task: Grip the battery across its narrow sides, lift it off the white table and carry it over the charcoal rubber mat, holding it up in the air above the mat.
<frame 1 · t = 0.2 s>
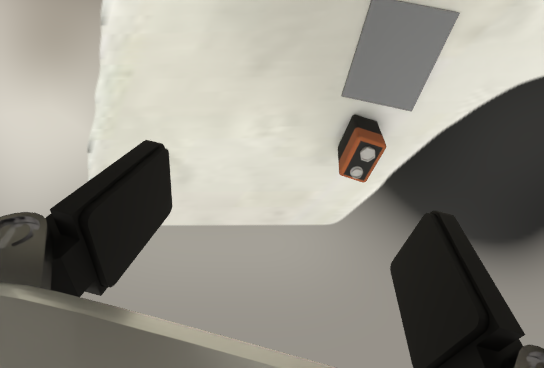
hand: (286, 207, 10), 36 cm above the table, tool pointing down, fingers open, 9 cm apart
mat: (393, 58, 38), on the table
battery: (356, 135, 45), on the table
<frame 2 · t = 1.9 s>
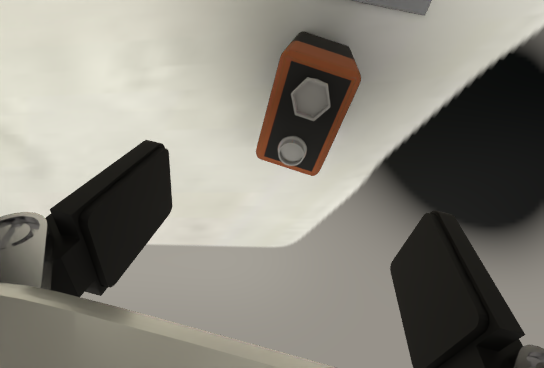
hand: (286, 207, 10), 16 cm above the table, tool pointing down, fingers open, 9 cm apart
battery: (310, 81, 22), on the table
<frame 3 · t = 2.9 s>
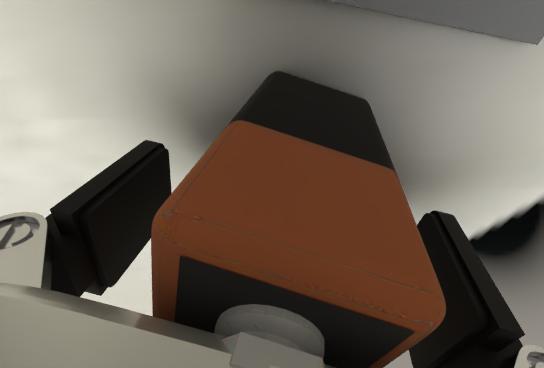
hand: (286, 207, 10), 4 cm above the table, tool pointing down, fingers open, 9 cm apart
battery: (296, 151, 13), on the table
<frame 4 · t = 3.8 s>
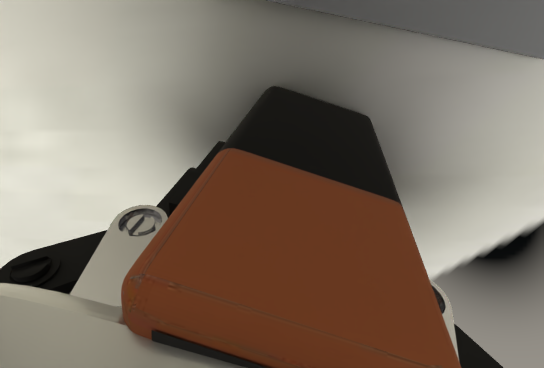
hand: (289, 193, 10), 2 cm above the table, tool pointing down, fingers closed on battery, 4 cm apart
battery: (295, 166, 12), on the table, touching gripper
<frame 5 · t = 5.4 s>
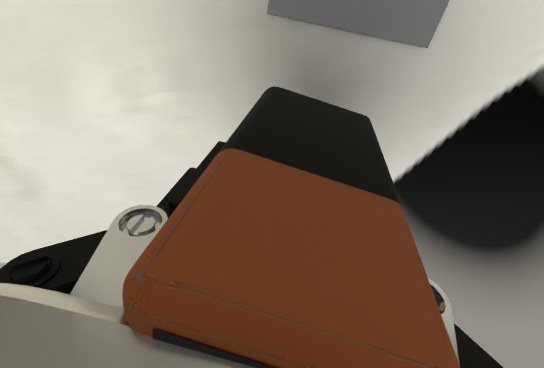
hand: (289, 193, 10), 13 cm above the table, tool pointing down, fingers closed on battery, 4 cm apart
battery: (295, 166, 12), point 11 cm above the table, touching gripper
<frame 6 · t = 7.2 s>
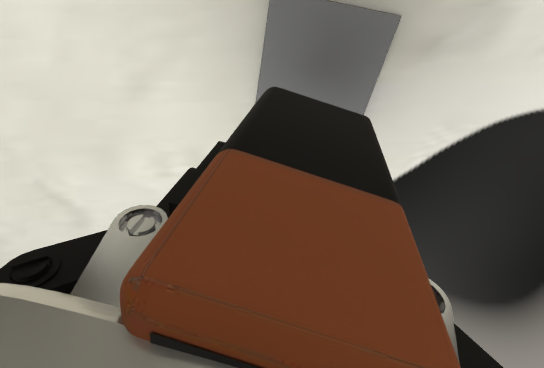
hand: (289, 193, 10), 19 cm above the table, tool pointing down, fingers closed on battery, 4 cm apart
mat: (315, 81, 26), on the table
battery: (294, 167, 12), point 17 cm above the table, touching gripper
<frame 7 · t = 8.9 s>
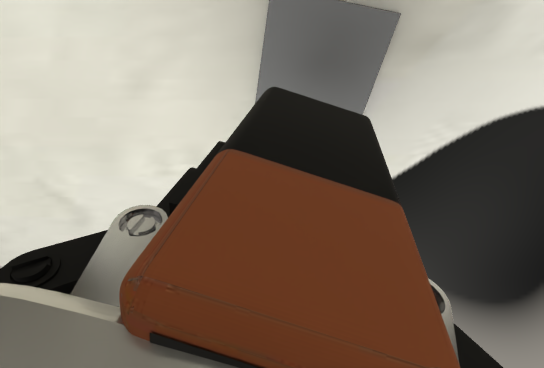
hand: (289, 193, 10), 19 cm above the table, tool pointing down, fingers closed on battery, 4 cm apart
mat: (314, 79, 26), on the table
battery: (295, 167, 12), point 17 cm above the table, touching gripper
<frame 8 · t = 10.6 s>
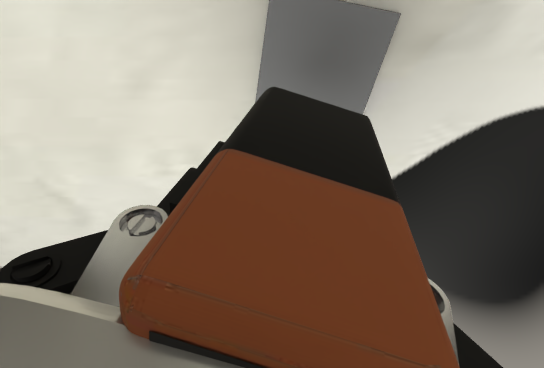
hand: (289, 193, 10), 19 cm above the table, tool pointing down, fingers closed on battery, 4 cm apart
mat: (314, 79, 26), on the table
battery: (295, 166, 12), point 17 cm above the table, touching gripper
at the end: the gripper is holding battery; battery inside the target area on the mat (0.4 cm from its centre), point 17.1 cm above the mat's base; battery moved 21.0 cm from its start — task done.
